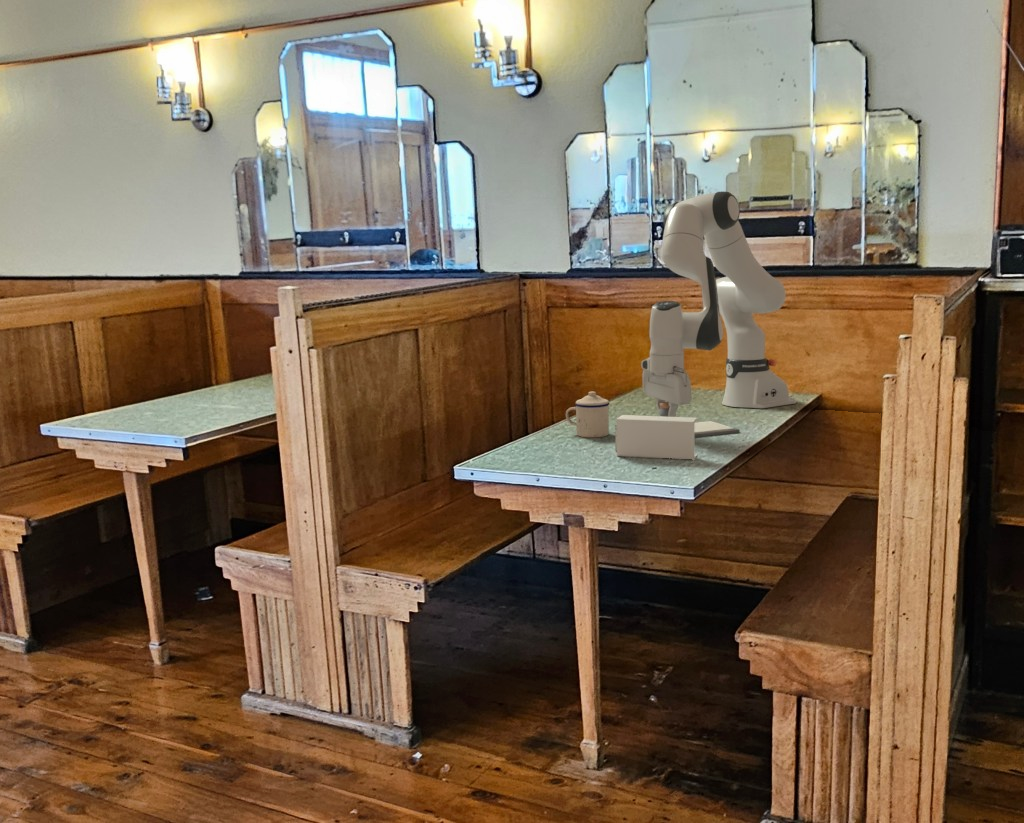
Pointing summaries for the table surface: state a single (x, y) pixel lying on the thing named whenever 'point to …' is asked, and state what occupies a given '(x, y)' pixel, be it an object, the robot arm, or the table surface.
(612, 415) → the table surface
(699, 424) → the whiteboard
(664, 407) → the cylinder
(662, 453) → the cigarette display
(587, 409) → the teacup with lid
